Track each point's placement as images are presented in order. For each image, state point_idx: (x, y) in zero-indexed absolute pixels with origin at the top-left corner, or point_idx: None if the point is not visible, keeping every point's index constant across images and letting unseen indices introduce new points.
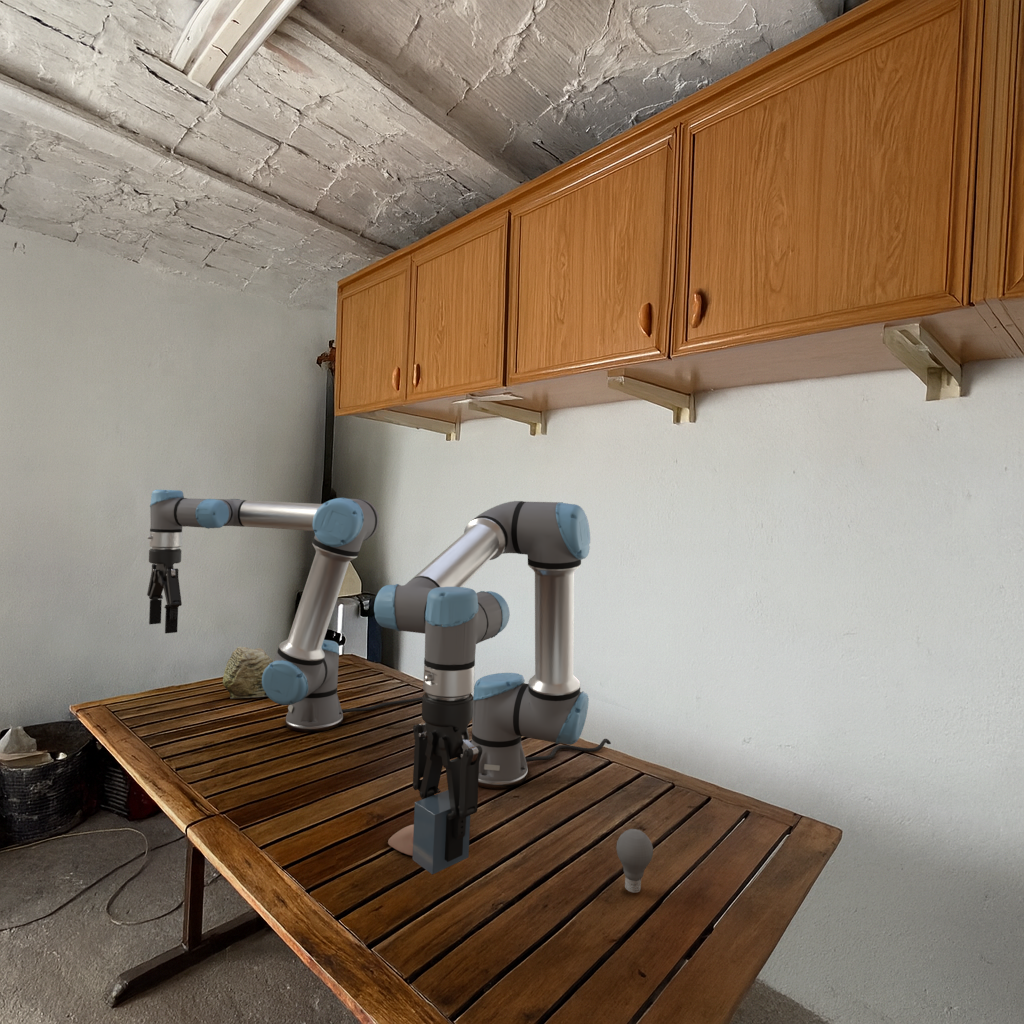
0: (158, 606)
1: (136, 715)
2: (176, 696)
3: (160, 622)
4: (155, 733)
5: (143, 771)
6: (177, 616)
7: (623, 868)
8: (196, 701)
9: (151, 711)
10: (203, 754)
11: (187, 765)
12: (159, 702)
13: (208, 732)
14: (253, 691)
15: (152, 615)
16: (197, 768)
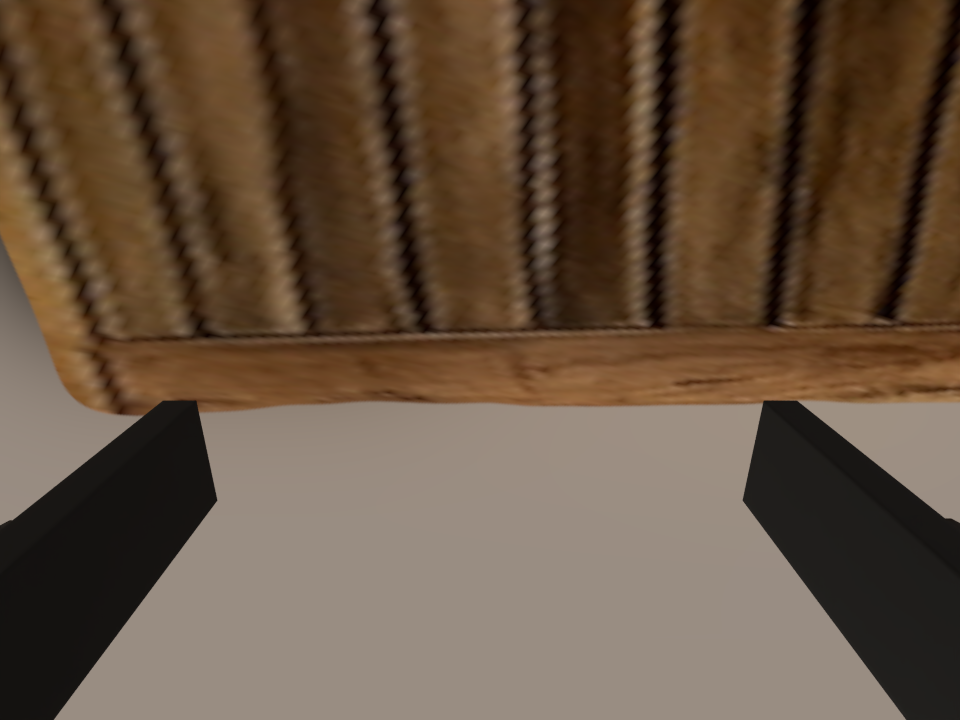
0: (53, 581)
1: (288, 280)
2: (82, 62)
3: (193, 410)
4: (531, 279)
5: (821, 390)
6: (935, 518)
7: None
8: (207, 4)
9: (265, 221)
10: (844, 211)
11: (885, 282)
12: (150, 158)
13: (653, 115)
14: None
15: (156, 548)
16: (933, 266)
